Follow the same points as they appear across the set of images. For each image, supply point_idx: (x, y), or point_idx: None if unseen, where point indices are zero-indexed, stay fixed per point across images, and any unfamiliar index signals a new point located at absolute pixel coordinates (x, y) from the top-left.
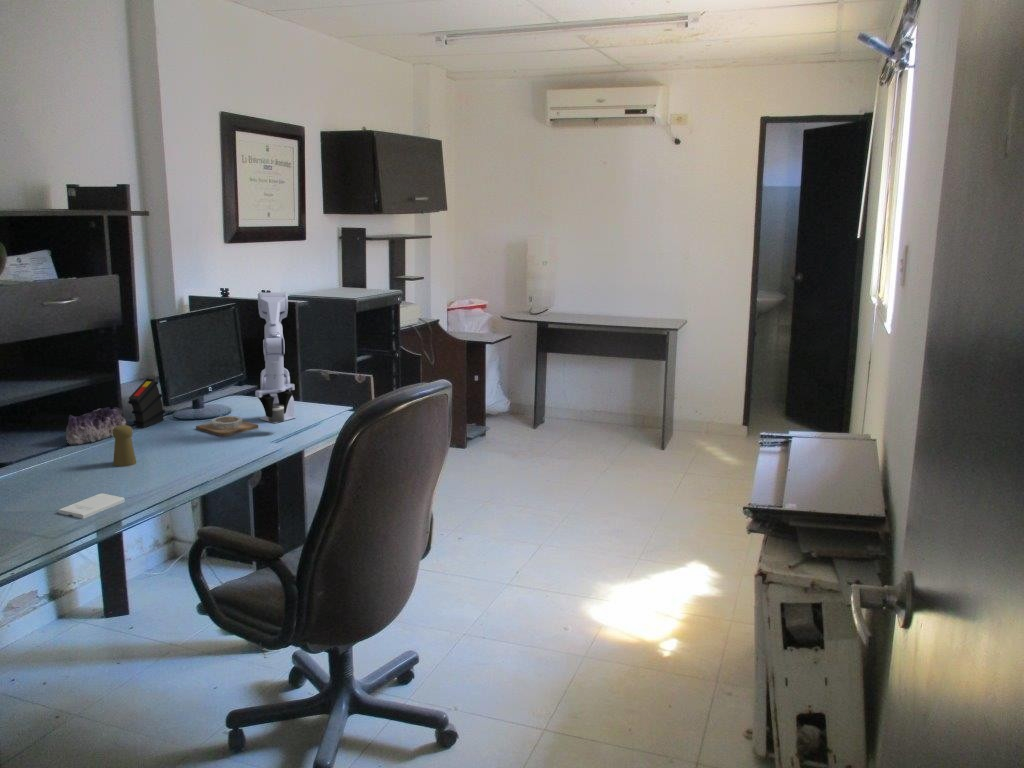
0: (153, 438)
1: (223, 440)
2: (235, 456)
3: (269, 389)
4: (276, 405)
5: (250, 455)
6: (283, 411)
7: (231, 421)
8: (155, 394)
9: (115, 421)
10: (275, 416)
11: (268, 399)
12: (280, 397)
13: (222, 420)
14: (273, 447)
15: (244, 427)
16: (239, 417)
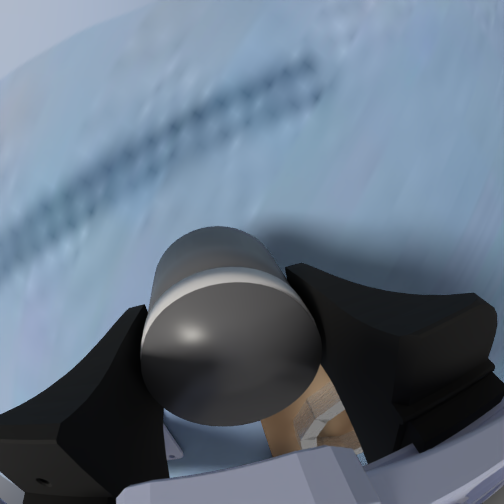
0: (497, 364)
1: (448, 263)
2: (499, 50)
3: (465, 502)
4: (232, 360)
5: (466, 13)
6: (165, 281)
7: (317, 438)
8: None
9: None
10: (260, 252)
11: (484, 301)
12: (151, 462)
13: (344, 443)
14: (363, 9)
15: (320, 370)
16: (303, 443)
